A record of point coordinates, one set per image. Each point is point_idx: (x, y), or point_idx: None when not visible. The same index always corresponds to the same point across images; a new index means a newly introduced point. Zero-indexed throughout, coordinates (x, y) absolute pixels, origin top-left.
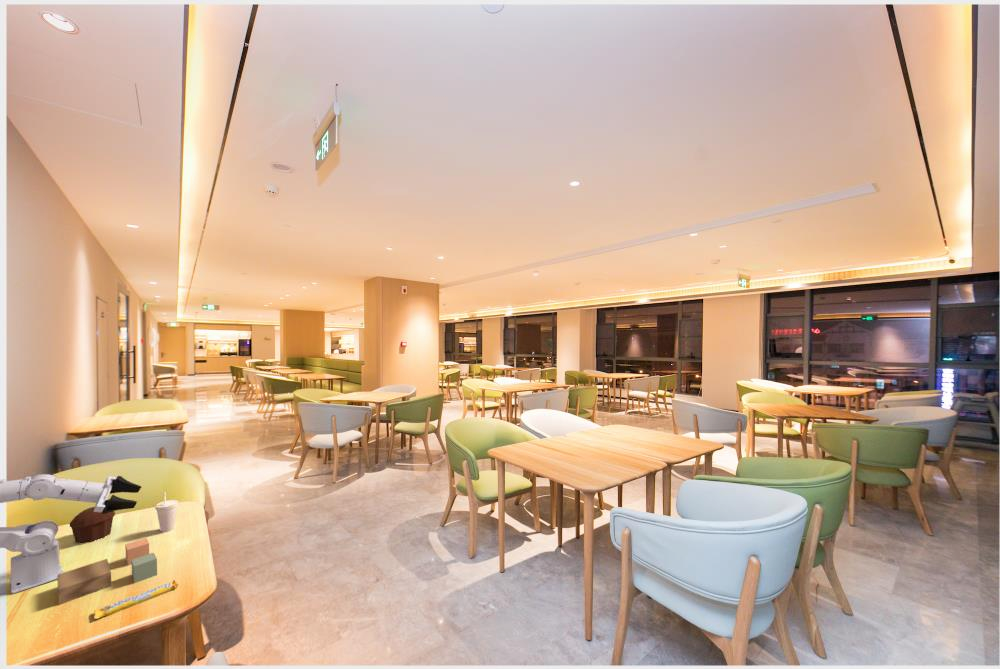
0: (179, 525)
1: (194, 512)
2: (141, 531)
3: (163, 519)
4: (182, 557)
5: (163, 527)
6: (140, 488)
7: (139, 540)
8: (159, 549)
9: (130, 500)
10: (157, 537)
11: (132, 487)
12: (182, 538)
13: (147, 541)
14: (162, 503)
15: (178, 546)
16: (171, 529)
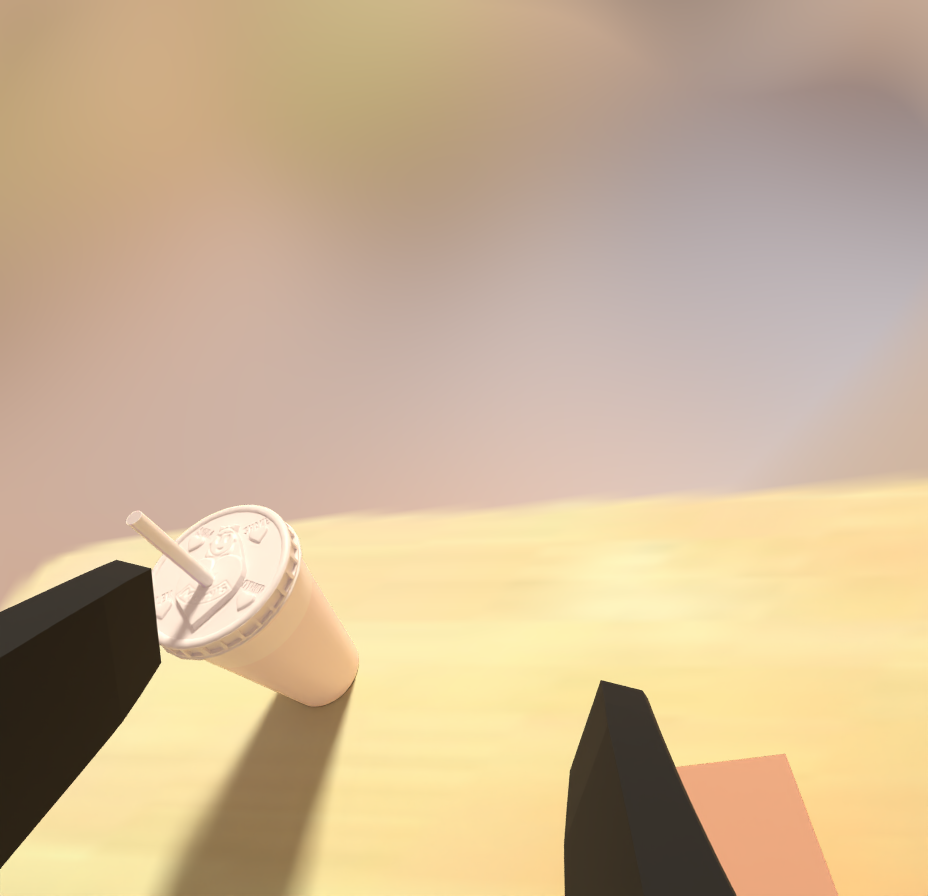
0: None
1: None
2: (187, 828)
3: (314, 645)
4: (897, 585)
5: (334, 675)
6: (150, 589)
7: None
8: None
9: (643, 781)
10: (398, 728)
11: (38, 695)
12: (549, 589)
13: (730, 765)
14: (185, 596)
15: (671, 609)
16: (353, 644)
